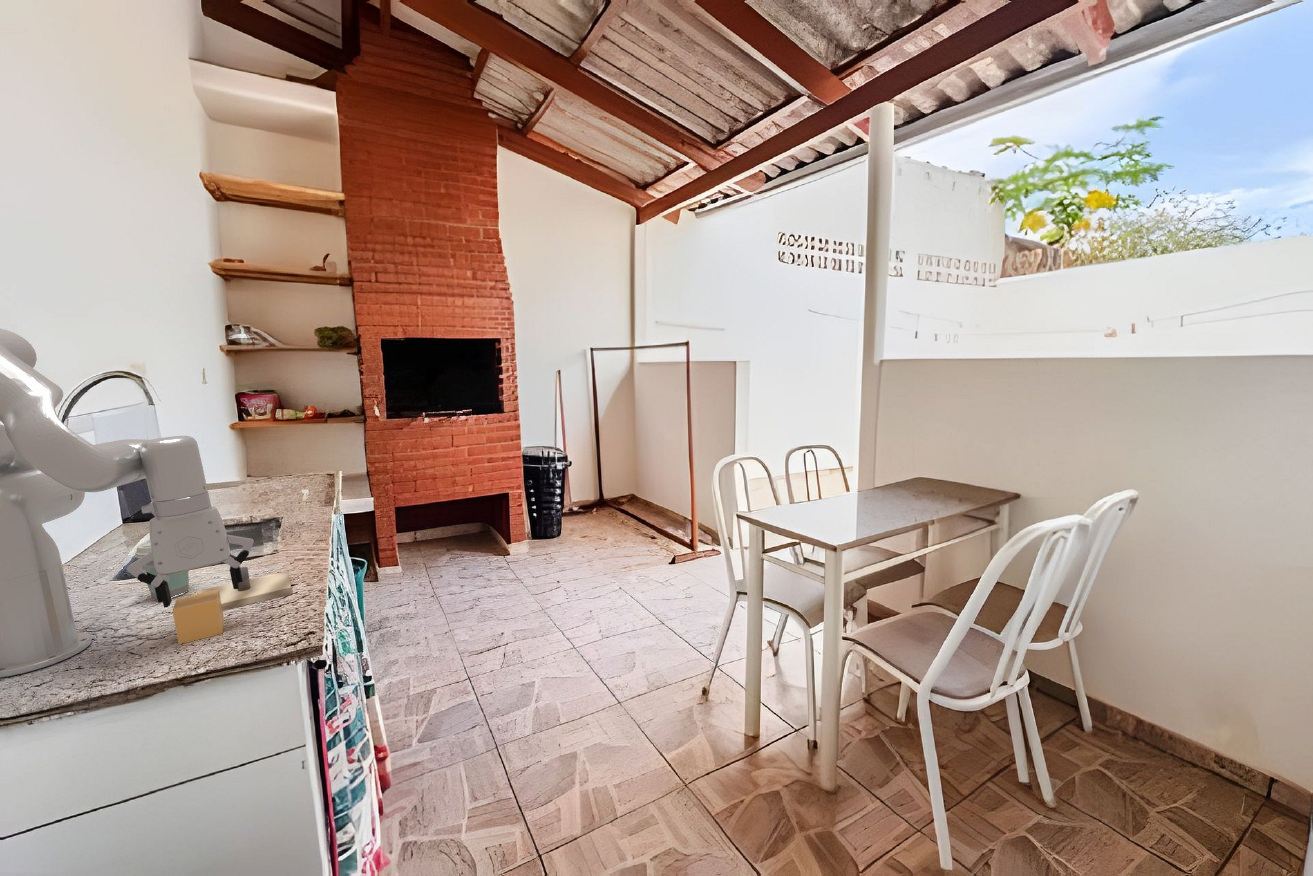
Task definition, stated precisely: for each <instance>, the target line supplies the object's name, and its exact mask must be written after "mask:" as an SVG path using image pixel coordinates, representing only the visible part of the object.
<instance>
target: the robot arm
mask: <svg viewBox="0 0 1313 876" xmlns="http://www.w3.org/2000/svg"><path fill="white" fill-rule="evenodd" d="M37 360H38V359H37V353H36V350H35V348H34V347H33V345H32V344H31V343H29V341H28V340H27V339H25V338H24V337H23V336H22V335H19V334H17V333H15V332H12V331H10V330H7V329H4V328H0V422H1V423H2V424H1V423H0V678H5V677H12V676H16V675H21V674H25V673H26V674H27V673H29V672H33V671H36V670H39V669H43V668H45V667H49V666H52V665H54V664H56V663H60V662H62V661H65V660H66V659H69V658H71V657H73V656H75V655H77V654H78V653H81V652H82V651H83V650H85V649H87V648H88V647H89V646H90V645H91V644H92V640H93V639H92V637H91V634H90V633H87V632H82V631H81V632H79V631H77V628H76V624H75V623H76V621H75V617H74V614H73V609H72V604H71V599H70V595H69V591H68V586H67V581H66V575H65V571H64V567H63V563H62V558H61V554H60V550H59V548H58V545H57V544H56V542H55V539H53V538H52V536H51V535H50V534H49V533H48V531H47V530H46V529H45V528H44V526H43V524H46V523H48V522H52V521H55V520H58V519H60V518H62V517H66V516H67V515H69V514H72V513H73V512H74V511H76V510H77V509H78V508H79V507H81V505H82V504H83V502H84V500H85V496H86V495H85V494H86V493H99V492H104V491H107V490H111V489H114V488H117V487H120V486H124V485H127V484H131V483H134V482H137V481H141V480H144V479H145V480H146V483H147V484H146V485H147V488H148V489H147V490H148V492H149V493H148V494H149V496H150V500H151V502H149V503H148V504H146V505H142V506H140V509H141V513H142V515H144V514H152V515H153V517H152V518H151V519H150V520H149V523H148V524H149V525H148V528H149V529H148V530H149V532H148V533H149V541H150V544H151V550H152V551H151V552H150V553H148V554H146V555H145V556H143V557H142V558H140V559H138V558H137V560H135V561H133V562H131V564H128V566H127V567H126V570H127V572H128V573H130V574H131V575H132V576H133V577H134V578H136V579H137V580H138V581H139V582H141V583H144V584H146V585H147V584H149V585H151V586H152V587H154V588H155V592H156V596H157V600H158V601H157V603H158V604H160V603H161V604H163V607H164V609H165V608H168V607H170V606H171V604H172V602H173V601H172V599H173V598H172V599H171V595H170V591H169V587H168V583H167V582H166V581H165V580H164V579H165V577H166V576H167V575H170V574H175V573H180V572H184V571H188V572H189V571H192V570H197V569H201V568H205V567H208V566H213V565H217V564H221V563H224V564H226V565H228V566H230V567H229V574H230V575H229V576H230V578H231V583H232V584H233V589H239V583H240V582H243V579H242V574H241V570H240V568H241V565H242V564H243V563H244V561H245V560H246V559H247V558H248V557H249V554H250V552H251V550H252V547H253V545H254V543H255V542H254V539H253V538H252V537H251V538H249V537H243V536H238V535H231V534H227V529H226V528H225V524H224V521H223V519H222V516H221V514H220V511H219V510H218V509H217V506H212V504H211V499H210V495H209V494H210V493H209V490H208V486H207V480H206V476H205V472H204V467H203V463H202V458H201V453H200V449H199V445H198V442H197V440H196V438H195V437H192V436H189V435H175V436H173V435H172V436H166V437H157V438H153V439H144V438H143V439H141V438H140V439H138V438H136V439H134V438H133V439H132V438H130V439H129V438H126V439H120V440H119V439H117V440H112V441H106V442H102V443H96V444H93V443H91V442H90V441H88V440H87V439H84V438H83V437H82V436H80V435H78V434H77V433H76V432H74V431H73V430H72V429H70V428H69V427H68V426H67V425H66V424H65V423H64V422H63V421H62V420H61V419H60V418H59V416H58V414H57V412H56V408H57V407H58V406H59V404H60V403H61V402H62V400H63V398H64V392H63V389H62V388H61V387H60V386H59V385H58V384H57V383H54V382H53V381H52V380H50V379H49V378H48V377H46V376H45V375H43V374H42V373H40V372H39V371H37V370H36V369H35V366H36V363H37ZM230 544H233V545H240V546H242V548H241V551H240V552H239V553H238V554H237V555H234V554H233V553H231V545H230ZM152 560H153V562H154V567H155V570H156V572H157V575H156V576H155V575H153V574H150V573H148V572H145V571H144V570H143V569H142V566H144V565H146V564H147V563H149V562H150V561H152Z"/></svg>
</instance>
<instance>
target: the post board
mask: <svg viewBox="0 0 1313 876" xmlns="http://www.w3.org/2000/svg"><path fill="white" fill-rule="evenodd" d="M240 570H241V574H242V579H243V582H240V583H239V589H233V584H232V582H230V583H225V584H221V585H216V586H213V587H207V588H204V589H198V590H197V592H196V594H200V593H204V592H209V591H213V590H218V589H219V592H220V598H221V604H222V610H223V611H227V610H231V609H236V608H239V607H244V606H247V604H248V605H252V604H256V603H255V602H257V603H259V602H264V600H265V601H268V600H272V599H276V598H281V597H285V596H288V595H289V596H290V595H292V593H293V591H292V586H291V584H292V583H291V577H290V573H289V572H290V571H289V570H286V571H284V570H283V571H280V572H277V573H272V574H267V575H262V576H258V577H254V578H250V574H249V569H248V567H247V566H242V567H241V566H240ZM235 607H236V608H235Z"/></svg>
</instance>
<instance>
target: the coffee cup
mask: <svg viewBox="0 0 1313 876" xmlns="http://www.w3.org/2000/svg"><path fill="white" fill-rule="evenodd" d="M151 551H152V550H151V544H150V540H148V541H146V542H145V541H144V542H142V543H140V544H138V545H137V547H136V551H135V553H134V554H135V555H134V556H135V558H137V560H138V559H140V558H142V557H143V556H145V555H146V554H148V553H150V552H151ZM142 569H143V570H144V571H145V572H148V573H150V574H153V575H155V576H156V575H157V572H156V570H155V567H154V562H153V560H152V561H150V562H149V563H147V564H146V565H144V566H142ZM164 580H165V581H166V582H167V583H168V587H169V591H170V595H171V597H173V596H175V595H179V594H181V593H184V592H186V591H188V589H189V590H190V585H189V581H190V580H189V571H184V572H180V573H175V574H170V575H167V576H166V577H165V579H164ZM146 586H147V588H148V589H149V593H150V595H151V598H152V600H153V599H154V600H153V601H156V600H157V596H156V592H155V588H154V587H152V586H151V585H149V584H146ZM188 592H189V591H188Z"/></svg>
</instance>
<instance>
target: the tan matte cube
mask: <svg viewBox="0 0 1313 876" xmlns="http://www.w3.org/2000/svg"><path fill="white" fill-rule="evenodd" d="M172 615H173V621H174V625H175V630H176V637H177V642H178V645H179V644H180V645H183V644H182V643H184V644H186V642H188V643H191V641H192V642H195V641H199V640H203V639H207V638H209V637H214V636H218V635H221V634H223V632H224V626H225V617H224V612H223V610H222V604H221V598H220V592H219V589H218V590H213V591H209V592H204V593H200V594H197V593H196V594H191V595H188V596H183V597H182V596H181V597H176V600H175V603H174V605H173V608H172ZM194 640H195V641H194Z"/></svg>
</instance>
